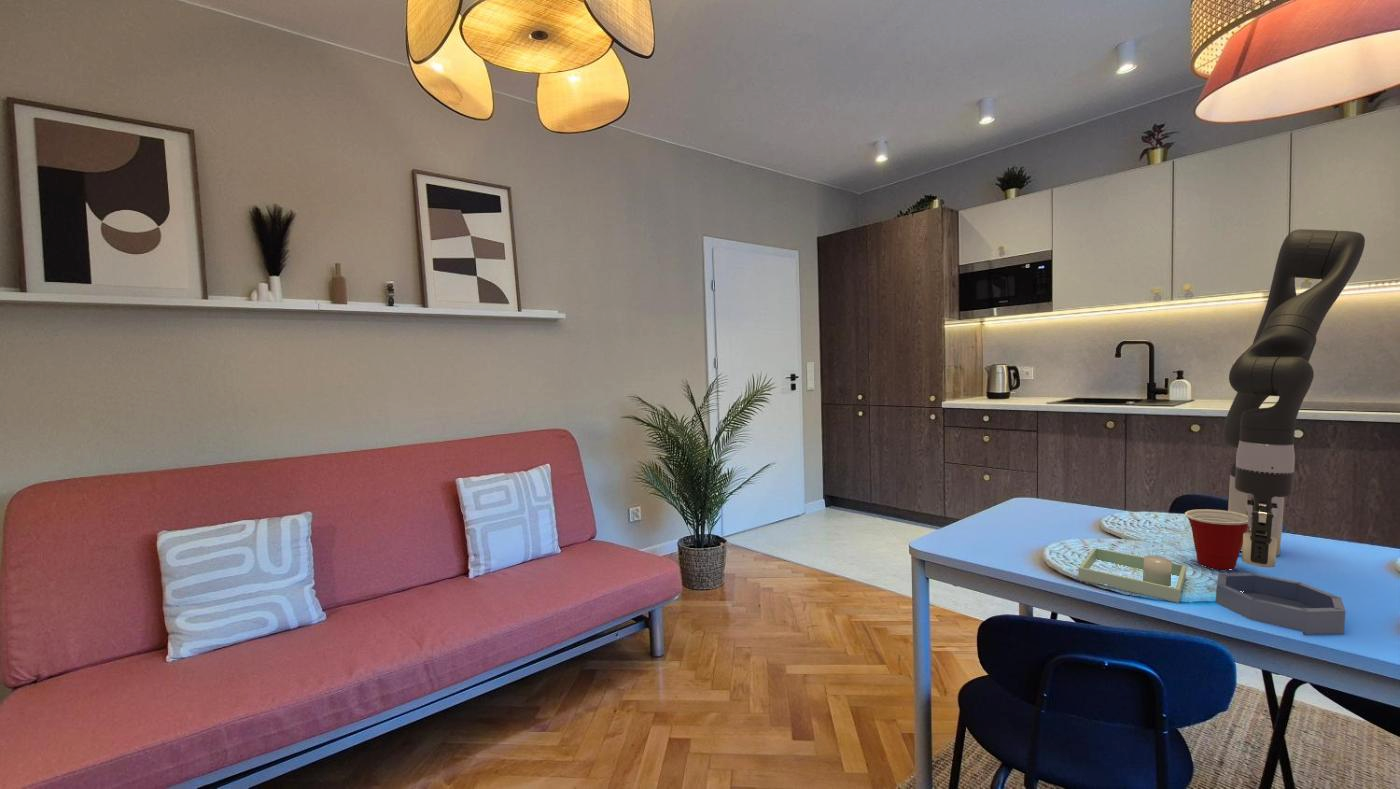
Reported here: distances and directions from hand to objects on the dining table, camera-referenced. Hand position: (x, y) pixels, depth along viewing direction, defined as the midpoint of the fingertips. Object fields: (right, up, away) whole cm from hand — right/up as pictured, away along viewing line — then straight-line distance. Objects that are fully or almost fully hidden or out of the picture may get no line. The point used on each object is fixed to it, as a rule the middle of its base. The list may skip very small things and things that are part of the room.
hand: (1258, 558), depth 105 cm
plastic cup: (+9, -8, +20) cm, 23 cm away
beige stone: (0, -1, 0) cm, 1 cm away
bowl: (+2, -9, -1) cm, 10 cm away
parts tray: (-13, -8, +13) cm, 21 cm away
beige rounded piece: (-10, -8, +11) cm, 17 cm away
